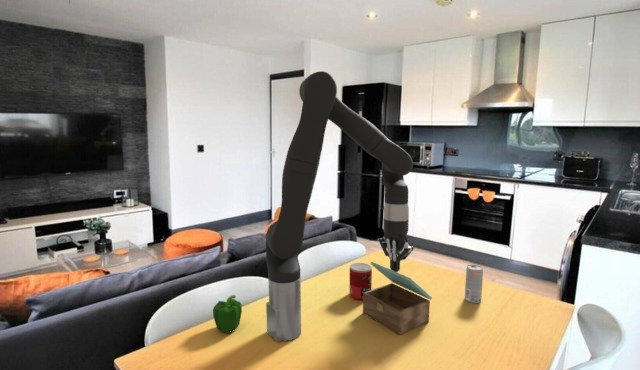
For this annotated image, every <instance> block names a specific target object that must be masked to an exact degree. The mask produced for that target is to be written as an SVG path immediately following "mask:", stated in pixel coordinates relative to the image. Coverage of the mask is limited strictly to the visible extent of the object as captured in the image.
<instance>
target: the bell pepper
mask: <svg viewBox="0 0 640 370" xmlns="http://www.w3.org/2000/svg"><path fill="white" fill-rule="evenodd" d="M236 297H237V296H236V294H232V295H230V296H228V297H227V299H226V301H222V300H218V302H217V303H216V304H215V305H214V306H213V309H212V315H213V319H214V323H215V326H216V328H217V330H218V331H219V330H221V331H220V332H222V331H223V333H224V332H230V331H233V330H235V329H236V330H237V329H238V327H239V325H240V321H241V318H242V311H243V310H242V308H243V306H242V303H241V301H237V300H236ZM236 330H235V331H236ZM233 332H234V331H233Z"/></svg>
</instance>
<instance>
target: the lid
mask: <svg viewBox="0 0 640 370" xmlns="http://www.w3.org/2000/svg"><path fill="white" fill-rule="evenodd" d="M370 266H372V267H374V268H375V269H376V270H377V271H378V272H380V273H381V274H382V276H384V277H385V278H387V279H388V280H389V281H390V282H391V283H393V284H395V285H397V286H399V287H401V288H404V289H406V290H408V291H410V292H412V293H414V294H416V295H419V296H421V297H423V298H425V299H427V300H429V301H431V300H432V299H433V297H432V296H431V295H430V294H429V293H427V291H425V290H424V289H423V288H422V287H421V286H420V285H419V284H418V283H416V282H415V281H414V280H413V279H412V278H410V277H409V276H406V275H404V274H401V273H399V272H395V271H393V270H391V269H390V267H389V268H388V267H386V266H383V265H380V264H379V263H376V262H374V261H371V262H370Z"/></svg>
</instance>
